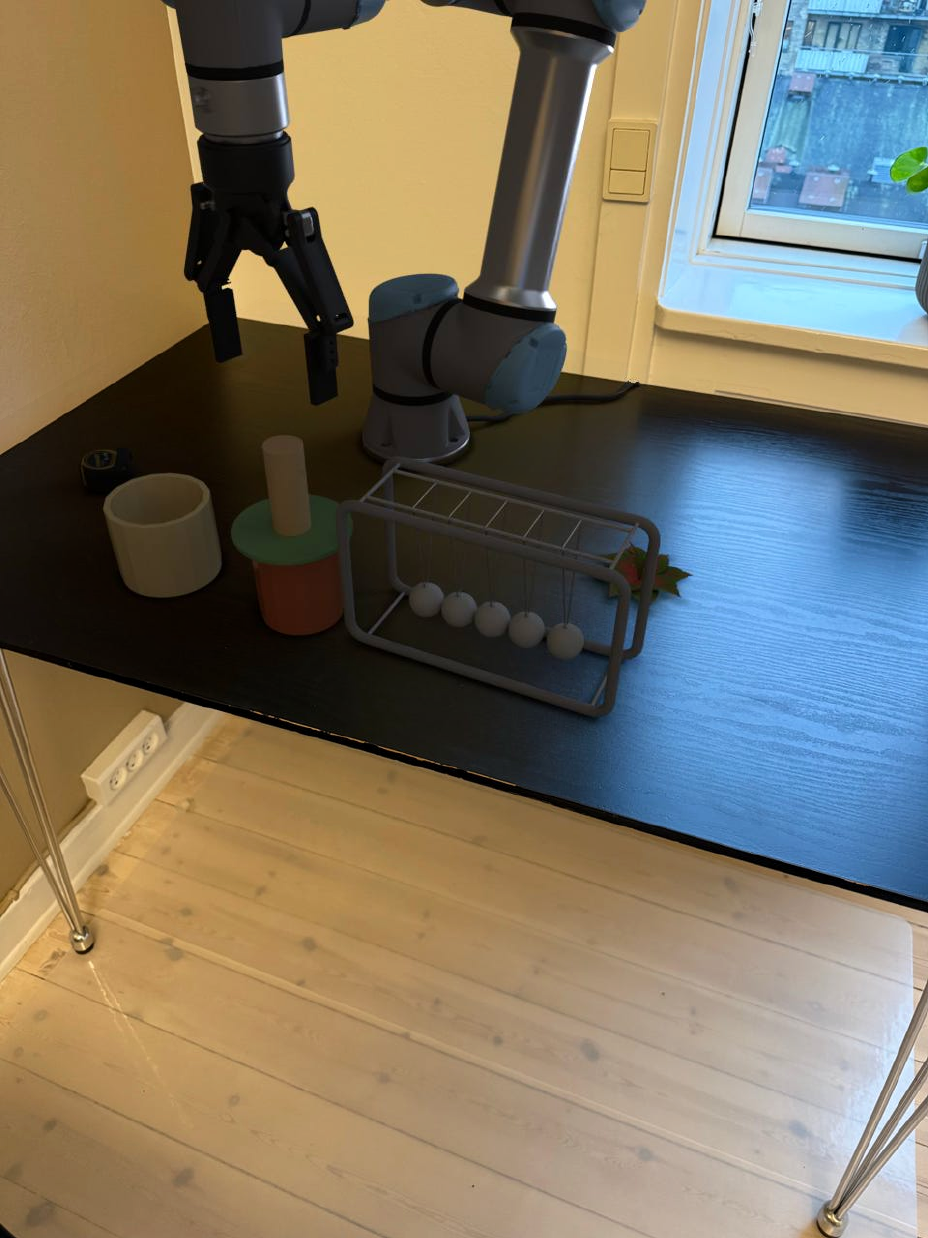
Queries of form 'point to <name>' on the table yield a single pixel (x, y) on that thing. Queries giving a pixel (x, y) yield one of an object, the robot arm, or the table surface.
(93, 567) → the table surface
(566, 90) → the robot arm
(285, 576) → the cup
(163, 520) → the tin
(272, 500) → the lid
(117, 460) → the tape measure
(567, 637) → the newton's cradle
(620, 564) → the red green leaf
